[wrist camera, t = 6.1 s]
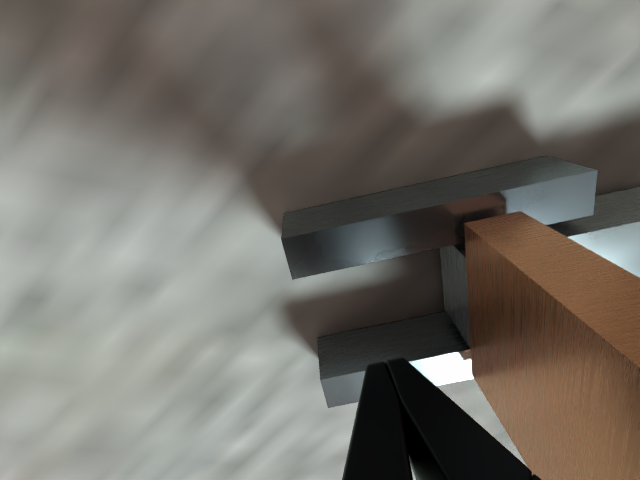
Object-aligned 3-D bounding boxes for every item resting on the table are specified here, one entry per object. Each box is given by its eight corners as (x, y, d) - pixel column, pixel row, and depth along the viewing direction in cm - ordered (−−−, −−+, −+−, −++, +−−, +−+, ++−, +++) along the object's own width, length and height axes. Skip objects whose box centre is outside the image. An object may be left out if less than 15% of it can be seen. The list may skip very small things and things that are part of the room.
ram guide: (546, 155, 11) (598, 170, 9) (539, 319, 13) (578, 357, 11) (283, 213, 11) (281, 239, 9) (324, 363, 13) (328, 407, 11)
